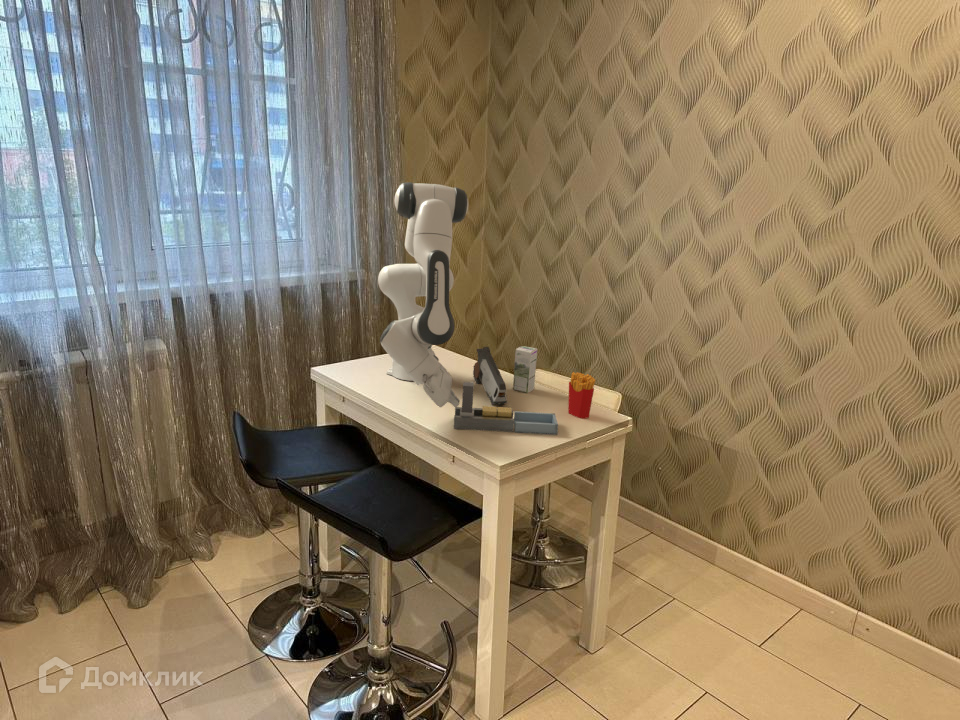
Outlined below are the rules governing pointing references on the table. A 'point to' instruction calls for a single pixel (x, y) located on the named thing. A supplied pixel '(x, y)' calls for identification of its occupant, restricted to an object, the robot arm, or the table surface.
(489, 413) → the golden tan cube
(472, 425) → the slot bed
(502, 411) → the mustard yellow cube
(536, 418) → the tray
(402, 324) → the robot arm
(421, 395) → the table surface
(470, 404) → the tall gray pillar
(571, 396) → the french fries
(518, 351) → the syrup box
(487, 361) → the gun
